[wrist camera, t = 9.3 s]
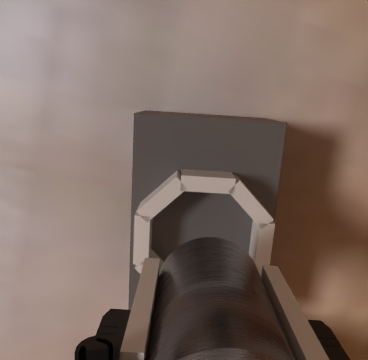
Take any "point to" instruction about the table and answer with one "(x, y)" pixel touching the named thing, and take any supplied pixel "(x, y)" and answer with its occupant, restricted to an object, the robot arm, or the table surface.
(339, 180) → the table surface
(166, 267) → the dark grey peg
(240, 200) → the camera body
